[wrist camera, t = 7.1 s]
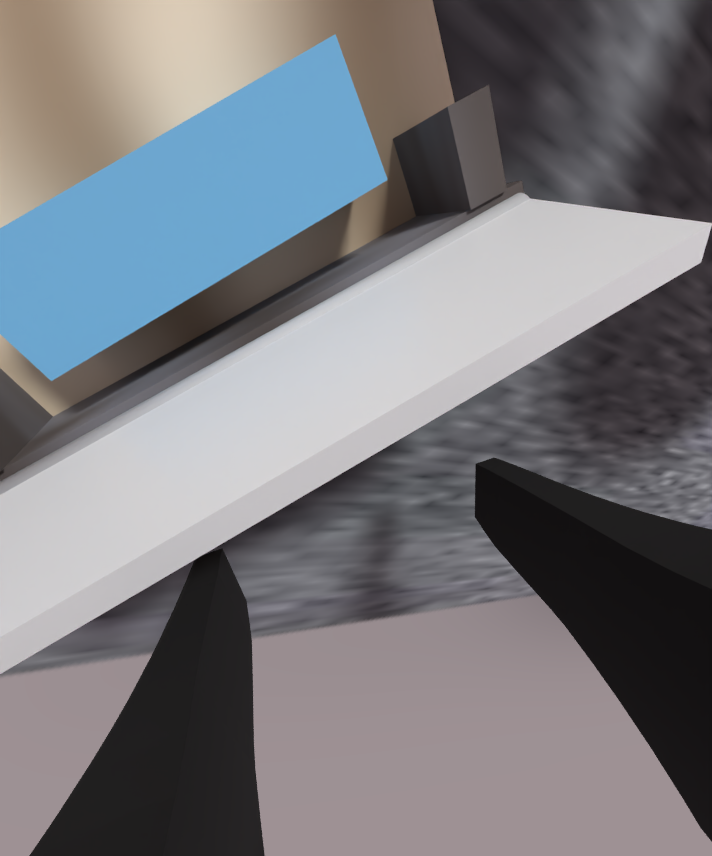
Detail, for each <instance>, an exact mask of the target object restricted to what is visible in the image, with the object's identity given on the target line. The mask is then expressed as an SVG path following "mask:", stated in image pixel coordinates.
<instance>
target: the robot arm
mask: <svg viewBox="0 0 712 856" xmlns="http://www.w3.org/2000/svg"><path fill="white" fill-rule="evenodd" d="M475 518H476V519H477V521H478V522H479V524H480V525H481V527H482V528H483V530H484V531H485V533H486V534H487V536H488V537H489V538H490V540H491V541H492V543H493V544H494V545H495V547H496V548H497V549H498V550H499V551H500V553H501V554H502V555H503V556H504V557H505V558H506V559H507V560H508V562H509V563H510V564H511V565H512V566H513V567H514V568H515V570H516V571H517V572H518V573H519V574H520V575H521V576H522V577H523V578H524V580H525V581H526V582H527V583H528V584H529V585H530V586H531V587H532V589H533V590H534V591H535V592H536V593H537V594H538V595H539V596H540V597H541V599H542V600H543V601H544V602H545V603H546V604H547V605H548V606H549V608H550V609H552V611H553V612H554V613H555V615H556V616H557V617H558V618H559V619H560V620H561V622H562V623H563V624H564V625H565V627H566V628H567V629H568V630H569V632H570V633H571V635H572V636H573V637H574V639H575V640H576V641H577V643H578V644H579V645H580V646H581V648H582V649H583V651H584V652H585V653H586V655H587V656H588V657H589V658H590V660H591V661H592V663H593V664H594V665H595V667H596V668H597V670H598V671H599V673H600V674H601V676H602V677H603V678H604V680H605V681H606V683H607V684H608V685H609V687H610V688H611V690H612V691H613V692H614V693H615V695H616V697H617V698H618V699H619V701H620V702H621V704H622V705H623V707H624V708H625V710H626V711H627V713H628V714H629V716H630V717H631V719H632V720H633V722H634V723H635V725H636V726H637V728H638V729H639V731H640V732H641V734H642V735H643V737H644V738H645V740H646V741H647V742H648V744H649V746H650V747H651V749H652V750H653V752H654V753H655V755H656V757H657V758H658V760H659V761H660V763H661V764H662V766H663V767H664V769H665V771H666V772H667V774H668V775H669V777H670V779H671V780H672V782H673V783H674V785H675V787H676V788H677V790H678V791H679V793H680V794H681V796H682V798H683V799H684V801H685V803H686V804H687V806H688V808H689V809H690V811H691V812H692V814H693V816H694V818H695V819H696V821H697V822H698V824H699V826H700V827H701V829H702V830H703V831H704V833H706V835H707V836H708V837H709V839H710V840H711V841H712V530H711V529H707V528H702V527H698V526H694V525H690V524H686V523H682V522H678V521H674V520H670V519H667V518H663V517H660V516H656V515H653V514H649V513H645V512H642V511H639V510H635V509H632V508H629V507H626V506H623V505H620V504H617V503H614V502H611V501H608V500H605V499H602V498H599V497H596V496H593V495H590V494H588V493H585V492H582V491H579V490H577V489H574V488H571V487H569V486H566V485H564V484H561V483H558V482H556V481H553V480H551V479H548V478H546V477H543V476H541V475H538V474H536V473H533V472H531V471H528V470H526V469H523V468H521V467H518V466H516V465H513V464H510V463H508V462H505V461H502V460H499V459H497V458H492V459H489V460H486V461H483V462H480V463H477V464H476V482H475ZM253 730H254V729H253V674H252V639H251V631H250V623H249V616H248V609H247V602H246V599H245V597H244V594H243V592H242V590H241V588H240V586H239V584H238V581H237V579H236V577H235V575H234V573H233V571H232V569H231V566H230V564H229V562H228V560H227V558H226V556H225V553H224V551H223V549H219V550H216V551H213V552H210V553H207V554H204V555H202V556H200V557H198V558H197V559H196V560H195V561H194V563H193V566H192V568H191V571H190V573H189V575H188V578H187V580H186V583H185V585H184V587H183V590H182V592H181V594H180V597H179V599H178V601H177V603H176V606H175V608H174V610H173V612H172V614H171V617H170V619H169V621H168V623H167V625H166V627H165V629H164V631H163V633H162V636H161V638H160V640H159V642H158V644H157V646H156V648H155V650H154V652H153V654H152V656H151V658H150V660H149V662H148V664H147V666H146V667H145V669H144V671H143V673H142V675H141V677H140V679H139V681H138V683H137V684H136V687H135V689H134V690H133V692H132V694H131V696H130V698H129V700H128V701H127V703H126V705H125V706H124V708H123V710H122V712H121V714H120V715H119V717H118V719H117V720H116V722H115V724H114V726H113V727H112V729H111V731H110V732H109V734H108V736H107V737H106V739H105V741H104V742H103V744H102V746H101V747H100V749H99V751H98V752H97V754H96V756H95V757H94V759H93V760H92V762H91V764H90V765H89V767H88V768H87V770H86V771H85V773H84V775H83V776H82V778H81V779H80V781H79V782H78V784H77V785H76V787H75V788H74V790H73V791H72V793H71V795H70V796H69V798H68V799H67V801H66V802H65V804H64V805H63V807H62V808H61V810H60V812H59V813H58V815H57V816H56V818H55V819H54V821H53V822H52V824H51V825H50V827H49V828H48V829H47V831H46V832H45V834H44V835H43V837H42V838H41V840H40V841H39V843H38V844H37V846H36V847H35V849H34V850H33V852H32V853H31V854H30V856H264V847H263V839H262V830H261V821H260V811H259V801H258V792H257V782H256V773H255V760H254V759H255V757H254V731H253Z"/></svg>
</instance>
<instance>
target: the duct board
mask: <svg viewBox="0 0 712 856" xmlns="http://www.w3.org/2000/svg"><path fill="white" fill-rule="evenodd" d="M335 34H336V37H337V40H338V43H339V45H340V48H341V51H342V54H343V57H344V59H345V62H346V65H347V68H348V70H349V73H350V76H351V79H352V82H353V84H354V87H355V90H356V93H357V96H358V98H359V101H360V104H361V107H362V110H363V112H364V115H365V118H366V121H367V123H368V126H369V129H370V132H371V135H372V137H373V140H374V143H375V146H376V149H377V151H378V154H379V157H380V160H381V163H382V165H383V168H384V171H385V174H386V176H387V179H388V180H387V181H385V182H383V183H382V184H380V185H378V186H377V187H375V188H373V189H372V190H370V191H368V192H367V193H365V194H363V195H362V196H360V197H358V198H357V199H355V200H353V201H352V202H350V203H348V204H347V205H345V206H343V207H342V208H340V209H338V210H337V211H335V212H333V213H332V214H330V215H328V216H327V217H325V218H323V219H321V220H320V221H318V222H316V223H315V224H313V225H311V226H310V227H308V228H306V229H305V230H303V231H301V232H300V233H298V234H296V235H295V236H293V237H291V238H290V239H288V240H286V241H285V242H283V243H281V244H280V245H278V246H276V247H275V248H273V249H271V250H270V251H268V252H266V253H265V254H263V255H261V256H260V257H258V258H256V259H255V260H253V261H251V262H250V263H248V264H246V265H245V266H243V267H241V268H240V269H238V270H236V271H235V272H233V273H231V274H230V275H228V276H226V277H225V278H223V279H221V280H220V281H218V282H216V283H215V284H213V285H211V286H209V287H208V288H206V289H204V290H203V291H201V292H199V293H198V294H196V295H194V296H193V297H191V298H189V299H188V300H186V301H184V302H183V303H181V304H179V305H178V306H176V307H174V308H173V309H171V310H169V311H168V312H166V313H164V314H163V315H161V316H159V317H158V318H156V319H154V320H153V321H151V322H149V323H148V324H146V325H144V326H143V327H141V328H139V329H138V330H136V331H134V332H133V333H131V334H129V335H128V336H126V337H124V338H123V339H121V340H119V341H118V342H116V343H114V344H113V345H111V346H109V347H108V348H106V349H104V350H103V351H101V352H99V353H98V354H96V355H94V356H92V357H91V358H89V359H87V360H86V361H84V362H82V363H81V364H79V365H77V366H76V367H74V368H72V369H71V370H69V371H67V372H66V373H64V374H62V375H61V376H59V377H57V378H56V379H54V380H52V381H51V380H50V379H48V378H47V377H46V376H45V375H44V374H43V373H42V372H41V371H40V370H39V369H38V368H36V367H35V366H34V365H33V364H32V363H31V362H30V361H29V360H28V359H27V358H26V357H24V356H23V355H22V354H21V353H20V352H19V351H18V350H17V349H16V348H15V347H14V346H12V345H11V344H10V343H9V342H8V341H7V340H6V339H5V338H4V337H3V336H2V335H1V334H0V481H2V480H4V479H6V478H7V477H9V476H11V475H13V474H15V473H16V472H18V471H20V470H22V469H24V468H25V467H27V466H29V465H31V464H33V463H34V462H36V461H38V460H40V459H41V458H43V457H45V456H47V455H49V454H50V453H52V452H54V451H56V450H58V449H59V448H61V447H63V446H65V445H67V444H68V443H70V442H72V441H74V440H76V439H77V438H79V437H81V436H83V435H85V434H86V433H88V432H90V431H92V430H94V429H95V428H97V427H99V426H101V425H102V424H104V423H106V422H108V421H110V420H111V419H113V418H115V417H117V416H119V415H120V414H122V413H124V412H126V411H128V410H129V409H131V408H133V407H135V406H137V405H138V404H140V403H142V402H144V401H146V400H147V399H149V398H151V397H153V396H155V395H156V394H158V393H160V392H162V391H163V390H165V389H167V388H169V387H171V386H172V385H174V384H176V383H178V382H180V381H181V380H183V379H185V378H187V377H189V376H190V375H192V374H194V373H196V372H198V371H199V370H201V369H203V368H205V367H207V366H208V365H210V364H212V363H214V362H216V361H217V360H219V359H221V358H223V357H224V356H226V355H228V354H230V353H232V352H233V351H235V350H237V349H239V348H241V347H242V346H244V345H246V344H248V343H250V342H251V341H253V340H255V339H257V338H259V337H260V336H262V335H264V334H266V333H268V332H269V331H271V330H273V329H275V328H277V327H278V326H280V325H282V324H284V323H286V322H287V321H289V320H291V319H293V318H294V317H296V316H298V315H300V314H302V313H303V312H305V311H307V310H309V309H311V308H312V307H314V306H316V305H318V304H320V303H321V302H323V301H325V300H327V299H329V298H330V297H332V296H334V295H336V294H338V293H339V292H341V291H343V290H345V289H347V288H348V287H350V286H352V285H354V284H355V283H357V282H359V281H361V280H363V279H364V278H366V277H368V276H370V275H372V274H373V273H375V272H377V271H379V270H381V269H382V268H384V267H386V266H388V265H390V264H391V263H393V262H395V261H397V260H399V259H400V258H402V257H404V256H406V255H408V254H409V253H411V252H413V251H415V250H416V249H418V248H420V247H422V246H424V245H425V244H427V243H429V242H431V241H433V240H434V239H436V238H438V237H440V236H442V235H443V234H445V233H447V232H449V231H451V230H452V229H454V228H456V227H458V226H460V225H461V224H463V223H465V222H467V221H469V220H470V219H472V218H474V217H476V216H477V215H479V214H481V213H483V212H485V211H486V210H488V209H490V208H492V207H494V206H495V205H497V204H499V203H501V202H503V201H504V200H506V199H508V198H510V197H512V196H513V195H515V194H517V193H524V190H523V184H522V181H517V182H512V183H507V184H506V181H505V175H504V170H503V164H502V158H501V152H500V147H499V141H498V135H497V129H496V123H495V118H494V112H493V106H492V100H491V95H490V89H489V85H487V86H485V87H483V88H481V89H480V90H478V91H476V92H474V93H472V94H470V95H468V96H467V97H465V98H463V99H461V100H459V101H457V102H454V97H453V92H452V88H451V83H450V79H449V74H448V69H447V65H446V60H445V55H444V51H443V46H442V42H441V37H440V32H439V28H438V23H437V19H436V14H435V9H434V5H433V0H0V228H2V227H3V226H5V225H7V224H8V223H10V222H12V221H14V220H15V219H17V218H19V217H21V216H22V215H24V214H26V213H27V212H29V211H31V210H33V209H34V208H36V207H38V206H40V205H41V204H43V203H45V202H46V201H48V200H50V199H52V198H53V197H55V196H57V195H58V194H60V193H62V192H64V191H65V190H67V189H69V188H71V187H72V186H74V185H76V184H77V183H79V182H81V181H83V180H84V179H86V178H88V177H90V176H91V175H93V174H95V173H96V172H98V171H100V170H102V169H103V168H105V167H107V166H109V165H110V164H112V163H114V162H115V161H117V160H119V159H121V158H122V157H124V156H126V155H128V154H129V153H131V152H133V151H134V150H136V149H138V148H140V147H141V146H143V145H145V144H147V143H148V142H150V141H152V140H153V139H155V138H157V137H159V136H160V135H162V134H164V133H166V132H167V131H169V130H171V129H172V128H174V127H176V126H178V125H179V124H181V123H183V122H184V121H186V120H188V119H190V118H191V117H193V116H195V115H197V114H198V113H200V112H202V111H203V110H205V109H207V108H209V107H210V106H212V105H214V104H216V103H217V102H219V101H221V100H222V99H224V98H226V97H228V96H229V95H231V94H233V93H235V92H236V91H238V90H240V89H241V88H243V87H245V86H247V85H248V84H250V83H252V82H254V81H255V80H257V79H259V78H260V77H262V76H264V75H266V74H267V73H269V72H271V71H273V70H274V69H276V68H278V67H279V66H281V65H283V64H285V63H286V62H288V61H290V60H292V59H293V58H295V57H297V56H298V55H300V54H302V53H304V52H305V51H307V50H309V49H310V48H312V47H314V46H316V45H317V44H319V43H321V42H323V41H324V40H326V39H328V38H329V37H331V36H333V35H335Z"/></svg>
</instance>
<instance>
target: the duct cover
mask: <svg viewBox="0 0 712 856" xmlns="http://www.w3.org/2000/svg"><path fill="white" fill-rule="evenodd" d="M711 226H712V223H707V222H700V221H692V220H685V219H678V218H670V217H663V216H655V215H648V214H640V213H633V212H626V211H618V210H611V209H603V208H596V207H589V206H581V205H574V204H566V203H559V202H551V201H544V200H537V199H530V198H529V197H528V196H527V195H526V194H524V193H517V194H515V195H513V196H512V197H510V198H508V199H506V200H504V201H503V202H501V203H499V204H497V205H495V206H494V207H492V208H490V209H488V210H486V211H485V212H483V213H481V214H479V215H477V216H476V217H474V218H472V219H470V220H469V221H467V222H465V223H463V224H461V225H460V226H458V227H456V228H454V229H452V230H451V231H449V232H447V233H445V234H443V235H442V236H440V237H438V238H436V239H434V240H433V241H431V242H429V243H427V244H425V245H424V246H422V247H420V248H418V249H416V250H415V251H413V252H411V253H409V254H408V255H406V256H404V257H402V258H400V259H399V260H397V261H395V262H393V263H391V264H390V265H388V266H386V267H384V268H382V269H381V270H379V271H377V272H375V273H373V274H372V275H370V276H368V277H366V278H364V279H363V280H361V281H359V282H357V283H355V284H354V285H352V286H350V287H348V288H347V289H345V290H343V291H341V292H339V293H338V294H336V295H334V296H332V297H330V298H329V299H327V300H325V301H323V302H321V303H320V304H318V305H316V306H314V307H312V308H311V309H309V310H307V311H305V312H303V313H302V314H300V315H298V316H296V317H294V318H293V319H291V320H289V321H287V322H286V323H284V324H282V325H280V326H278V327H277V328H275V329H273V330H271V331H269V332H268V333H266V334H264V335H262V336H260V337H259V338H257V339H255V340H253V341H251V342H250V343H248V344H246V345H244V346H242V347H241V348H239V349H237V350H235V351H233V352H232V353H230V354H228V355H226V356H224V357H223V358H221V359H219V360H217V361H216V362H214V363H212V364H210V365H208V366H207V367H205V368H203V369H201V370H199V371H198V372H196V373H194V374H192V375H190V376H189V377H187V378H185V379H183V380H181V381H180V382H178V383H176V384H174V385H172V386H171V387H169V388H167V389H165V390H163V391H162V392H160V393H158V394H156V395H155V396H153V397H151V398H149V399H147V400H146V401H144V402H142V403H140V404H138V405H137V406H135V407H133V408H131V409H129V410H128V411H126V412H124V413H122V414H120V415H119V416H117V417H115V418H113V419H111V420H110V421H108V422H106V423H104V424H102V425H101V426H99V427H97V428H95V429H94V430H92V431H90V432H88V433H86V434H85V435H83V436H81V437H79V438H77V439H76V440H74V441H72V442H70V443H68V444H67V445H65V446H63V447H61V448H59V449H58V450H56V451H54V452H52V453H50V454H49V455H47V456H45V457H43V458H41V459H40V460H38V461H36V462H34V463H33V464H31V465H29V466H27V467H25V468H24V469H22V470H20V471H18V472H16V473H15V474H13V475H11V476H9V477H7V478H6V479H4V480H2V481H0V674H1V673H3V672H4V671H6V670H8V669H9V668H11V667H13V666H15V665H16V664H18V663H20V662H21V661H23V660H25V659H26V658H28V657H30V656H32V655H33V654H35V653H37V652H38V651H40V650H42V649H44V648H45V647H47V646H49V645H50V644H52V643H54V642H55V641H57V640H59V639H61V638H62V637H64V636H66V635H67V634H69V633H71V632H72V631H74V630H76V629H78V628H79V627H81V626H83V625H84V624H86V623H88V622H89V621H91V620H93V619H95V618H96V617H98V616H100V615H101V614H103V613H105V612H107V611H108V610H110V609H112V608H113V607H115V606H117V605H118V604H120V603H122V602H124V601H125V600H127V599H129V598H130V597H132V596H134V595H135V594H137V593H139V592H141V591H142V590H144V589H146V588H147V587H149V586H151V585H153V584H154V583H156V582H158V581H159V580H161V579H163V578H164V577H166V576H168V575H170V574H171V573H173V572H175V571H176V570H178V569H180V568H181V567H183V566H185V565H187V564H188V563H190V562H192V561H193V560H195V559H197V558H198V557H200V556H202V555H204V554H205V553H207V552H209V551H210V550H212V549H214V548H216V547H217V546H219V545H221V544H222V543H224V542H226V541H227V540H229V539H231V538H233V537H234V536H236V535H238V534H239V533H241V532H243V531H244V530H246V529H248V528H250V527H251V526H253V525H255V524H256V523H258V522H260V521H262V520H263V519H265V518H267V517H268V516H270V515H272V514H273V513H275V512H277V511H279V510H280V509H282V508H284V507H285V506H287V505H289V504H290V503H292V502H294V501H296V500H297V499H299V498H301V497H302V496H304V495H306V494H307V493H309V492H311V491H313V490H314V489H316V488H318V487H319V486H321V485H323V484H325V483H326V482H328V481H330V480H331V479H333V478H335V477H336V476H338V475H340V474H342V473H343V472H345V471H347V470H348V469H350V468H352V467H353V466H355V465H357V464H359V463H360V462H362V461H364V460H365V459H367V458H369V457H371V456H372V455H374V454H376V453H377V452H379V451H381V450H382V449H384V448H386V447H388V446H389V445H391V444H393V443H394V442H396V441H398V440H399V439H401V438H403V437H405V436H406V435H408V434H410V433H411V432H413V431H415V430H416V429H418V428H420V427H422V426H423V425H425V424H427V423H428V422H430V421H432V420H434V419H435V418H437V417H439V416H440V415H442V414H444V413H445V412H447V411H449V410H451V409H452V408H454V407H456V406H457V405H459V404H461V403H462V402H464V401H466V400H468V399H469V398H471V397H473V396H474V395H476V394H478V393H480V392H481V391H483V390H485V389H486V388H488V387H490V386H491V385H493V384H495V383H497V382H498V381H500V380H502V379H503V378H505V377H507V376H508V375H510V374H512V373H514V372H515V371H517V370H519V369H520V368H522V367H524V366H525V365H527V364H529V363H531V362H532V361H534V360H536V359H537V358H539V357H541V356H543V355H544V354H546V353H548V352H549V351H551V350H553V349H554V348H556V347H558V346H560V345H561V344H563V343H565V342H566V341H568V340H570V339H571V338H573V337H575V336H577V335H578V334H580V333H582V332H583V331H585V330H587V329H588V328H590V327H592V326H594V325H595V324H597V323H599V322H600V321H602V320H604V319H606V318H607V317H609V316H611V315H612V314H614V313H616V312H617V311H619V310H621V309H623V308H624V307H626V306H628V305H629V304H631V303H633V302H634V301H636V300H638V299H640V298H641V297H643V296H645V295H646V294H648V293H650V292H652V291H653V290H655V289H657V288H658V287H660V286H662V285H663V284H665V283H667V282H669V281H670V280H672V279H674V278H675V277H677V276H679V275H680V274H682V273H684V272H686V271H687V270H689V269H691V268H692V267H694V266H696V265H697V264H699V263H701V261H702V258H703V254H704V251H705V247H706V244H707V240H708V237H709V233H710V230H711Z"/></svg>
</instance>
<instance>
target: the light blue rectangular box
mask: <svg viewBox="0 0 712 856" xmlns="http://www.w3.org/2000/svg"><path fill="white" fill-rule="evenodd" d="M387 180H388V179H387V176H386V174H385V171H384V168H383V165H382V163H381V160H380V157H379V154H378V151H377V149H376V146H375V143H374V140H373V137H372V135H371V132H370V129H369V126H368V123H367V121H366V118H365V115H364V112H363V110H362V107H361V104H360V101H359V98H358V96H357V93H356V90H355V87H354V84H353V82H352V79H351V76H350V73H349V70H348V68H347V65H346V62H345V59H344V57H343V54H342V51H341V48H340V45H339V43H338V40H337V37H336V34H335V35H333V36H331V37H329V38H328V39H326V40H324V41H323V42H321V43H319V44H317V45H316V46H314V47H312V48H310V49H309V50H307V51H305V52H304V53H302V54H300V55H298V56H297V57H295V58H293V59H292V60H290V61H288V62H286V63H285V64H283V65H281V66H279V67H278V68H276V69H274V70H273V71H271V72H269V73H267V74H266V75H264V76H262V77H260V78H259V79H257V80H255V81H254V82H252V83H250V84H248V85H247V86H245V87H243V88H241V89H240V90H238V91H236V92H235V93H233V94H231V95H229V96H228V97H226V98H224V99H222V100H221V101H219V102H217V103H216V104H214V105H212V106H210V107H209V108H207V109H205V110H203V111H202V112H200V113H198V114H197V115H195V116H193V117H191V118H190V119H188V120H186V121H184V122H183V123H181V124H179V125H178V126H176V127H174V128H172V129H171V130H169V131H167V132H166V133H164V134H162V135H160V136H159V137H157V138H155V139H153V140H152V141H150V142H148V143H147V144H145V145H143V146H141V147H140V148H138V149H136V150H134V151H133V152H131V153H129V154H128V155H126V156H124V157H122V158H121V159H119V160H117V161H115V162H114V163H112V164H110V165H109V166H107V167H105V168H103V169H102V170H100V171H98V172H96V173H95V174H93V175H91V176H90V177H88V178H86V179H84V180H83V181H81V182H79V183H77V184H76V185H74V186H72V187H71V188H69V189H67V190H65V191H64V192H62V193H60V194H58V195H57V196H55V197H53V198H52V199H50V200H48V201H46V202H45V203H43V204H41V205H40V206H38V207H36V208H34V209H33V210H31V211H29V212H27V213H26V214H24V215H22V216H21V217H19V218H17V219H15V220H14V221H12V222H10V223H8V224H7V225H5V226H3V227H2V228H0V334H1V335H2V336H3V337H4V338H5V339H6V340H7V341H8V342H9V343H10V344H11V345H12V346H14V347H15V348H16V349H17V350H18V351H19V352H20V353H21V354H22V355H23V356H24V357H26V358H27V359H28V360H29V361H30V362H31V363H32V364H33V365H34V366H35V367H36V368H38V369H39V370H40V371H41V372H42V373H43V374H44V375H45V376H46V377H47V378H48V379H50V380H51V381H52V380H54V379H56V378H57V377H59V376H61V375H62V374H64V373H66V372H67V371H69V370H71V369H72V368H74V367H76V366H77V365H79V364H81V363H82V362H84V361H86V360H87V359H89V358H91V357H92V356H94V355H96V354H98V353H99V352H101V351H103V350H104V349H106V348H108V347H109V346H111V345H113V344H114V343H116V342H118V341H119V340H121V339H123V338H124V337H126V336H128V335H129V334H131V333H133V332H134V331H136V330H138V329H139V328H141V327H143V326H144V325H146V324H148V323H149V322H151V321H153V320H154V319H156V318H158V317H159V316H161V315H163V314H164V313H166V312H168V311H169V310H171V309H173V308H174V307H176V306H178V305H179V304H181V303H183V302H184V301H186V300H188V299H189V298H191V297H193V296H194V295H196V294H198V293H199V292H201V291H203V290H204V289H206V288H208V287H209V286H211V285H213V284H215V283H216V282H218V281H220V280H221V279H223V278H225V277H226V276H228V275H230V274H231V273H233V272H235V271H236V270H238V269H240V268H241V267H243V266H245V265H246V264H248V263H250V262H251V261H253V260H255V259H256V258H258V257H260V256H261V255H263V254H265V253H266V252H268V251H270V250H271V249H273V248H275V247H276V246H278V245H280V244H281V243H283V242H285V241H286V240H288V239H290V238H291V237H293V236H295V235H296V234H298V233H300V232H301V231H303V230H305V229H306V228H308V227H310V226H311V225H313V224H315V223H316V222H318V221H320V220H321V219H323V218H325V217H327V216H328V215H330V214H332V213H333V212H335V211H337V210H338V209H340V208H342V207H343V206H345V205H347V204H348V203H350V202H352V201H353V200H355V199H357V198H358V197H360V196H362V195H363V194H365V193H367V192H368V191H370V190H372V189H373V188H375V187H377V186H378V185H380V184H382V183H383V182H385V181H387Z"/></svg>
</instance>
